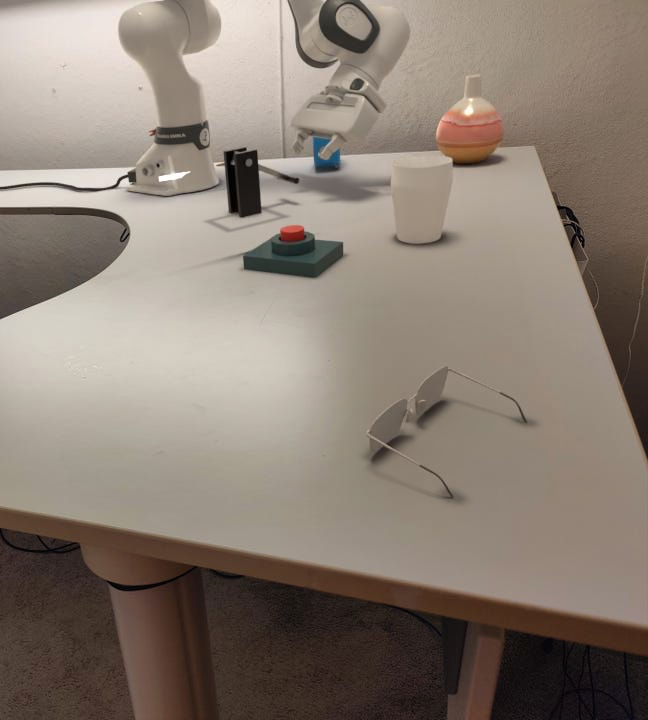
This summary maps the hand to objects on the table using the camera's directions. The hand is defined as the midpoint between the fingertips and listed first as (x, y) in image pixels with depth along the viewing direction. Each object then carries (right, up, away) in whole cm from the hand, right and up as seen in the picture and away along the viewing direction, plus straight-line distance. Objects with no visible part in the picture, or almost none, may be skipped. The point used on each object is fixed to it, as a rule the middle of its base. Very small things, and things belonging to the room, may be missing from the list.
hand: (307, 155), depth 127 cm
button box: (-7, -24, -25) cm, 35 cm away
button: (-7, -21, -26) cm, 35 cm away
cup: (+14, -20, -21) cm, 32 cm away
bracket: (-12, -12, 0) cm, 17 cm away
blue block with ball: (+10, +7, +31) cm, 34 cm away
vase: (+39, +5, +20) cm, 44 cm away
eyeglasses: (0, -47, -69) cm, 84 cm away
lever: (-9, -5, -3) cm, 11 cm away
